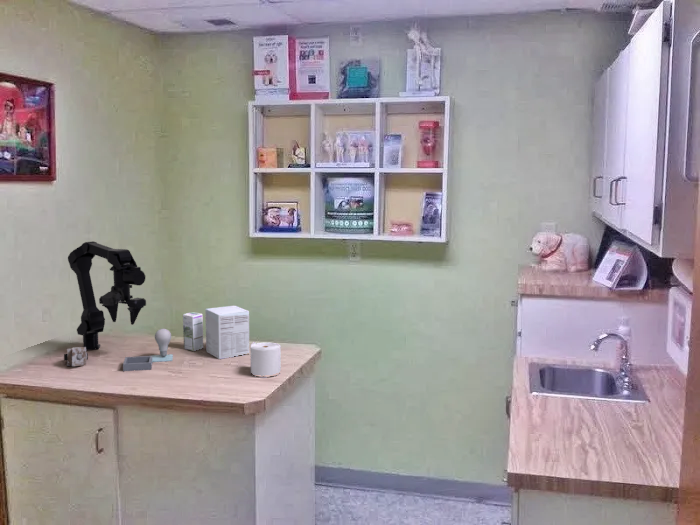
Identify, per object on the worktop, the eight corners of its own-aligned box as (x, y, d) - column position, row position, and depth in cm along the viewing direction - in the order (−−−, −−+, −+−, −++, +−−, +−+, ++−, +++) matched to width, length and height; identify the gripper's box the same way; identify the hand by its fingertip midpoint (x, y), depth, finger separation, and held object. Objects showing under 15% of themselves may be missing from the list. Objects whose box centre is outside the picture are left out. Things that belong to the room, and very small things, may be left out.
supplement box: (250, 354, 264) (250, 310, 262) (218, 359, 257) (218, 314, 255) (236, 347, 275) (235, 305, 273) (205, 351, 268) (204, 308, 266)
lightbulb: (174, 356, 259) (174, 328, 257) (160, 360, 254) (160, 331, 253) (166, 353, 263) (165, 326, 261) (152, 356, 258) (151, 328, 257)
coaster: (151, 356, 260) (151, 355, 260) (172, 355, 262) (172, 354, 262) (150, 362, 253) (150, 361, 253) (172, 360, 255) (172, 359, 254)
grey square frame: (125, 363, 250) (125, 357, 250) (152, 362, 253) (152, 355, 252) (123, 371, 241) (123, 364, 241) (151, 369, 243) (151, 362, 243)
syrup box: (204, 348, 273) (203, 313, 271) (193, 351, 268) (192, 315, 266) (193, 346, 276) (193, 311, 274) (183, 349, 271) (182, 313, 269)
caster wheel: (75, 365, 256) (96, 364, 252) (52, 367, 246) (73, 366, 242) (75, 347, 257) (96, 346, 253) (52, 348, 247) (73, 347, 243)
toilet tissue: (272, 379, 234) (272, 351, 232) (241, 375, 238) (241, 347, 237) (285, 370, 244) (285, 343, 242) (256, 367, 248) (255, 340, 247)
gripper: (87, 284, 253) (89, 324, 255) (124, 288, 245) (126, 330, 247) (109, 279, 263) (111, 319, 265) (146, 283, 255) (147, 324, 257)
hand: (123, 323), depth 258 cm, fingers open, 9 cm apart
